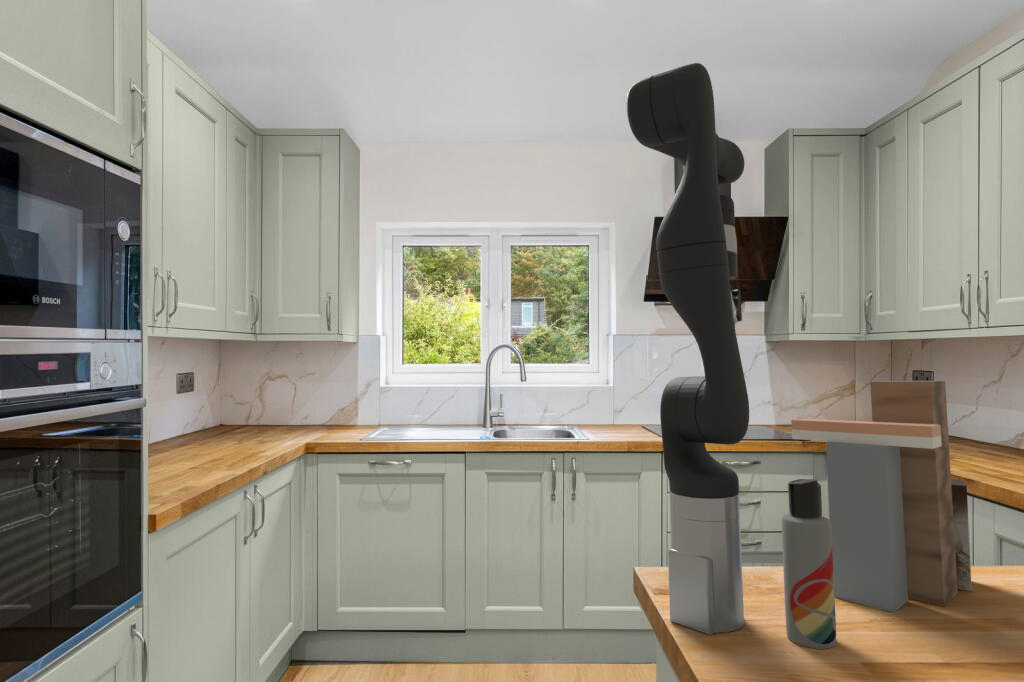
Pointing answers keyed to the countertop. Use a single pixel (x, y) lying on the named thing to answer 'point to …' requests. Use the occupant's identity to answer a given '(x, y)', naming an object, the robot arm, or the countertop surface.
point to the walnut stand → (923, 488)
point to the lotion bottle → (808, 568)
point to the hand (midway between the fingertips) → (716, 342)
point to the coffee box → (961, 534)
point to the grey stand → (867, 524)
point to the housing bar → (868, 432)
